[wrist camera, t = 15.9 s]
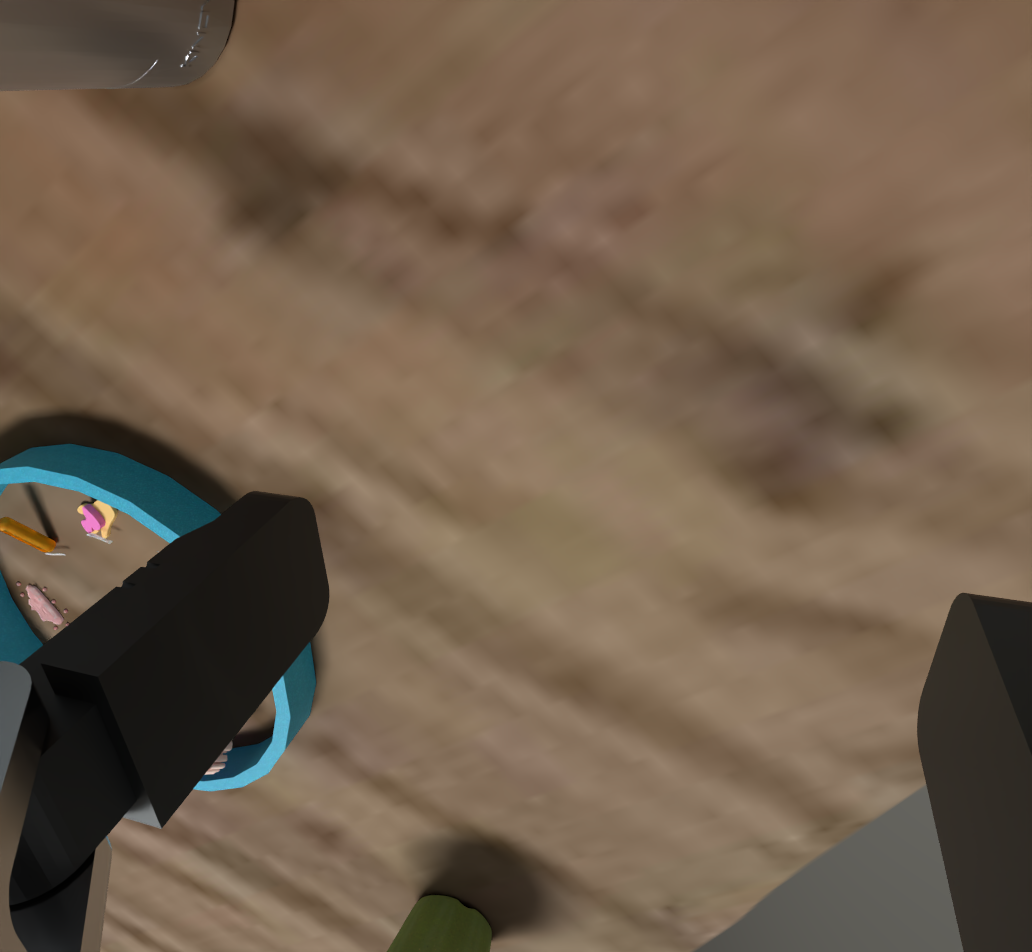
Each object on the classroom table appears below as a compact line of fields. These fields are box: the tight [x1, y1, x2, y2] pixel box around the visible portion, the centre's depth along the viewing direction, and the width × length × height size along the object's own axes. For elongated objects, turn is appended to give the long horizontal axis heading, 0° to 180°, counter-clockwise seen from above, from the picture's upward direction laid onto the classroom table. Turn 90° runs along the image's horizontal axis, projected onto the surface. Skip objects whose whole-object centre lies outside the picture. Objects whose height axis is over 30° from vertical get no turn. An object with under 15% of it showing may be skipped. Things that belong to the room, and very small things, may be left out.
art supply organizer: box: [0, 444, 316, 791], centre depth 54 cm, size 30×30×6 cm
